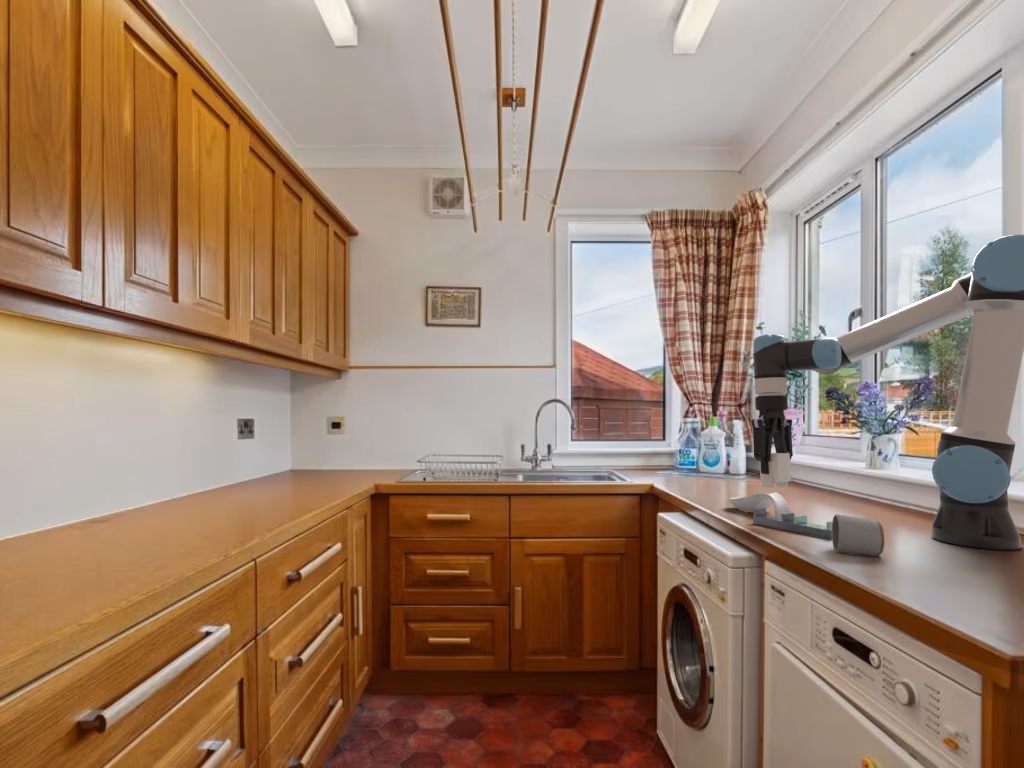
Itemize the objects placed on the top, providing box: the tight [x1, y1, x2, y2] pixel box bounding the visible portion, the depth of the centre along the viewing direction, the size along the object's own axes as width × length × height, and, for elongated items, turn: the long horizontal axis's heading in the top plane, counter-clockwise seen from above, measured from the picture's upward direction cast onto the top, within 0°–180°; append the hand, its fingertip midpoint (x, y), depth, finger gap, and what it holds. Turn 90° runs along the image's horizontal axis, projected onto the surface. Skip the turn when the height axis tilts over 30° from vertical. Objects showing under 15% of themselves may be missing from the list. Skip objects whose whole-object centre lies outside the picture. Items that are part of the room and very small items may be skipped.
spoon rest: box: [728, 492, 792, 518], centre depth 151 cm, size 24×12×7 cm, turn 4°
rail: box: [752, 508, 833, 540], centre depth 130 cm, size 20×4×4 cm, turn 29°
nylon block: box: [759, 452, 792, 483], centre depth 135 cm, size 5×5×7 cm
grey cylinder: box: [831, 513, 885, 557], centre depth 110 cm, size 11×8×8 cm
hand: (774, 486), depth 135 cm, fingers closed on nylon block, 5 cm apart
